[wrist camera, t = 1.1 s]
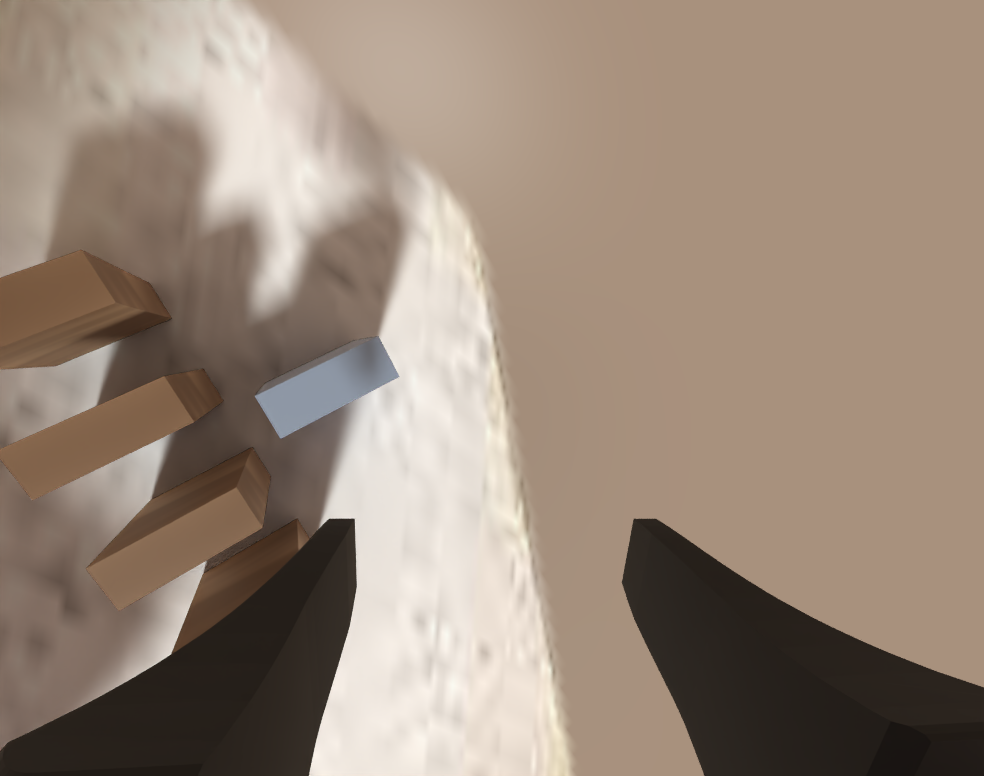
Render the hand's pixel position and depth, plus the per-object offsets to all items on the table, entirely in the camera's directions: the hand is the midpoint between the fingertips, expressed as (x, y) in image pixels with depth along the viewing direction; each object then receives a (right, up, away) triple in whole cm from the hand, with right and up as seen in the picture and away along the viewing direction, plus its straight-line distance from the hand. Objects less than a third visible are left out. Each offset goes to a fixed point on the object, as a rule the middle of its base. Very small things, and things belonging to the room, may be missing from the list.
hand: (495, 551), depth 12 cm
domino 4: (-11, -4, +10) cm, 15 cm away
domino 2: (-14, +3, +8) cm, 17 cm away
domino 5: (-8, +5, +10) cm, 14 cm away
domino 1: (-16, +7, +7) cm, 19 cm away
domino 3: (-12, 0, +9) cm, 15 cm away
